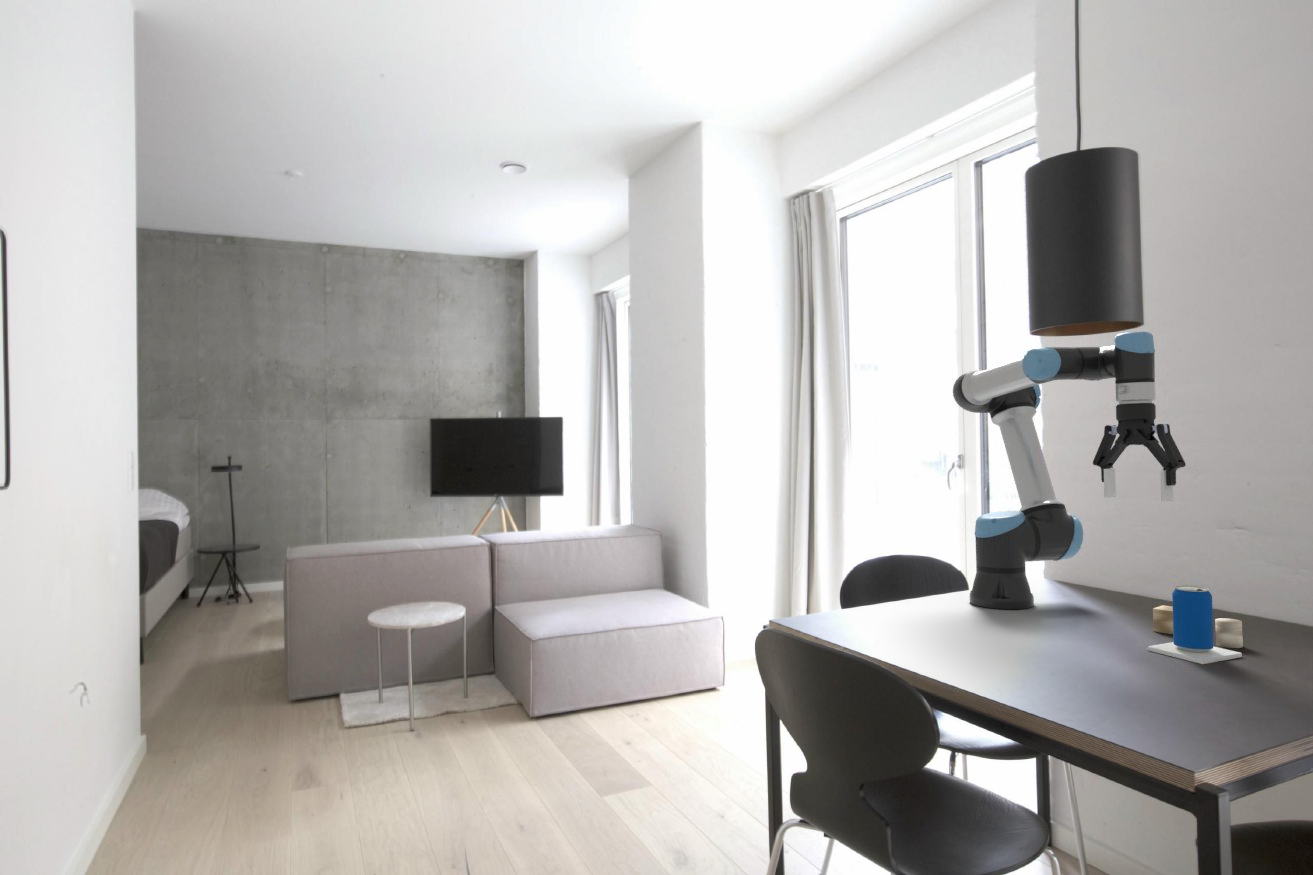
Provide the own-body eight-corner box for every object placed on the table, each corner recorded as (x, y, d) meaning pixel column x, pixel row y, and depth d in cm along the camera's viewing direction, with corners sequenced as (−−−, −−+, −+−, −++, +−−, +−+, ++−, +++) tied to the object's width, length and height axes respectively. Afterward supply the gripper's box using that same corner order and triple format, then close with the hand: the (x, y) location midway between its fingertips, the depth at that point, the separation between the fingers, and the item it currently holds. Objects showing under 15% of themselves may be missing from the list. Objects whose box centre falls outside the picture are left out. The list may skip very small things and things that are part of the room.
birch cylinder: (1210, 643, 164) (1209, 619, 164) (1227, 641, 165) (1226, 617, 165) (1231, 648, 159) (1230, 623, 159) (1248, 646, 161) (1247, 621, 161)
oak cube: (1153, 631, 175) (1152, 608, 175) (1163, 627, 178) (1162, 605, 178) (1178, 635, 171) (1178, 612, 171) (1188, 631, 174) (1188, 608, 174)
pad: (1147, 650, 160) (1147, 646, 160) (1185, 643, 164) (1185, 639, 164) (1202, 664, 150) (1202, 659, 150) (1241, 656, 154) (1241, 652, 154)
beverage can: (1219, 654, 153) (1218, 591, 153) (1182, 653, 154) (1180, 590, 154) (1204, 645, 159) (1202, 585, 159) (1167, 644, 161) (1166, 584, 161)
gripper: (1074, 405, 187) (1076, 496, 187) (1178, 399, 164) (1181, 503, 164) (1098, 405, 190) (1100, 494, 190) (1203, 399, 167) (1206, 501, 167)
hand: (1137, 499), depth 177 cm, fingers open, 13 cm apart
